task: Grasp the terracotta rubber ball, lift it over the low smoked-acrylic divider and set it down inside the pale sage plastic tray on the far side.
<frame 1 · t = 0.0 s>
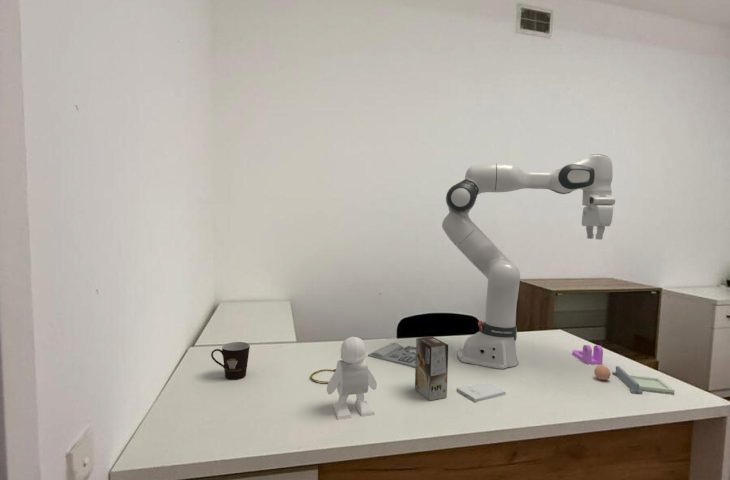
hand: (594, 239, 137), 48 cm above the table, fingers open, 8 cm apart
coffee mug: (232, 375, 126), on the table
bracket: (585, 359, 152), on the table
divider: (626, 383, 128), on the table
office telephone: (405, 357, 150), on the table
ball: (601, 379, 131), on the table
toy robot: (351, 409, 105), on the table
tray: (648, 386, 127), on the table
external hard drive: (480, 394, 118), on the table
coffee box: (430, 393, 117), on the table
extension cord: (333, 378, 127), on the table
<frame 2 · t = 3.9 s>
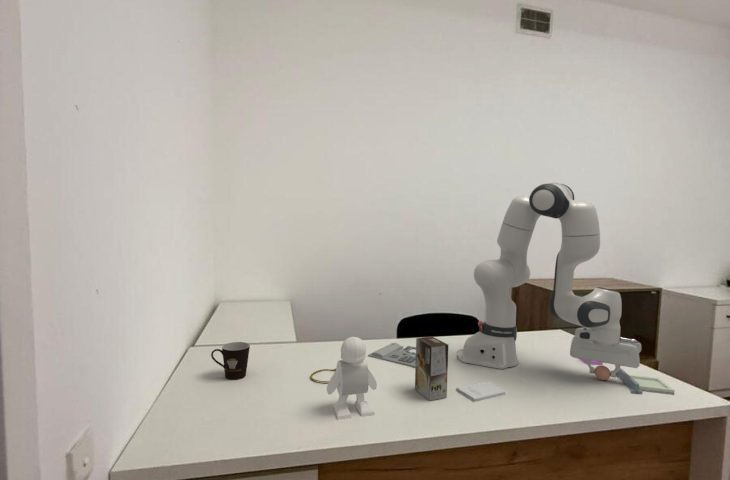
hand: (602, 374, 131), 2 cm above the table, fingers closed on ball, 5 cm apart
ball: (601, 379, 131), on the table, touching gripper
everything else where it was.
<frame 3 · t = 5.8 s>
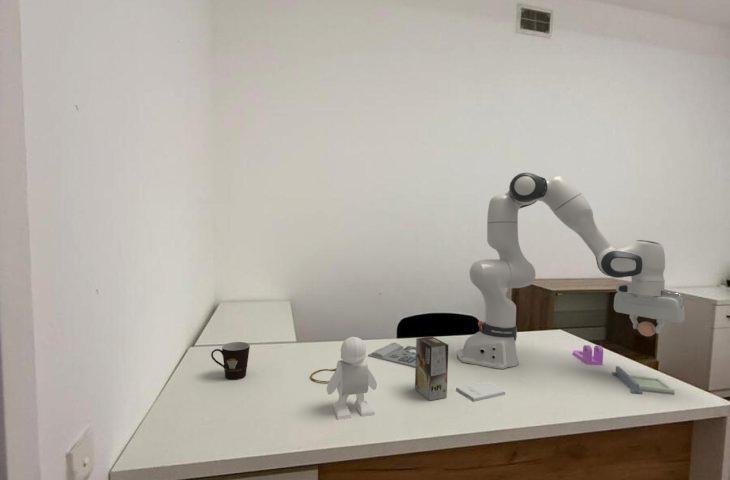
hand: (646, 330, 127), 18 cm above the table, fingers closed on ball, 5 cm apart
ball: (646, 336, 127), point 17 cm above the table, touching gripper
everything else where it was.
when the fingers open (4 cm above the table, at t = 9.0 s): ball drops 1 cm, resting on tray.
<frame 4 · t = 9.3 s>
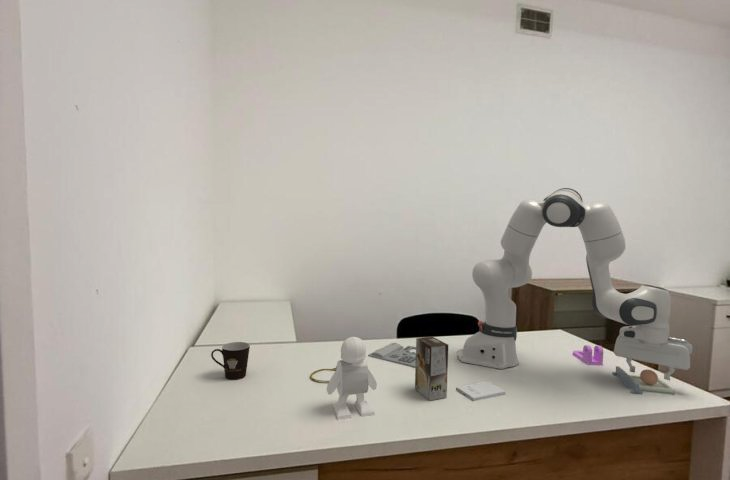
hand: (649, 375, 127), 4 cm above the table, fingers open, 8 cm apart
ball: (648, 384, 127), point 1 cm above the table, touching tray
everything else where it was.
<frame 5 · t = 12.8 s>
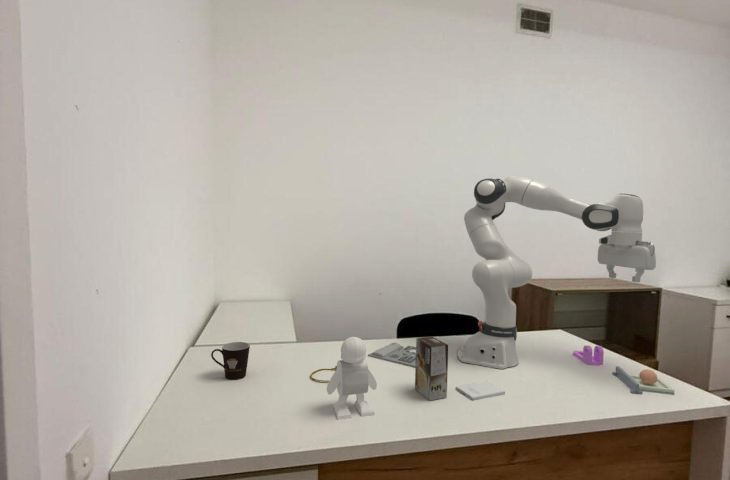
hand: (623, 279, 134), 34 cm above the table, fingers open, 8 cm apart
at the end: ball inside the target area on the tray (0.0 cm from its centre), point 0.6 cm above the tray's base; the gripper is holding nothing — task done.
